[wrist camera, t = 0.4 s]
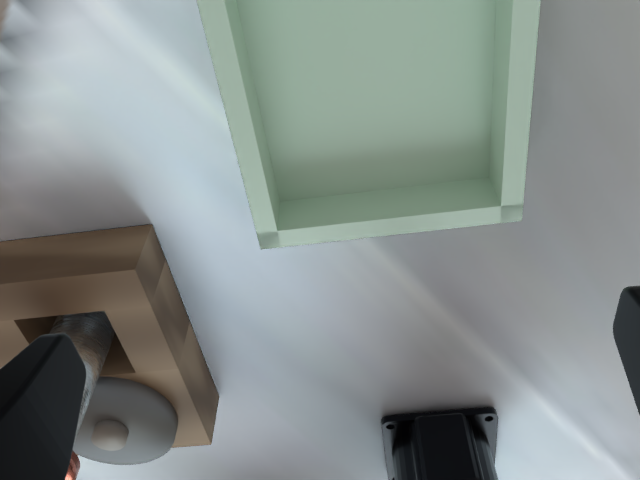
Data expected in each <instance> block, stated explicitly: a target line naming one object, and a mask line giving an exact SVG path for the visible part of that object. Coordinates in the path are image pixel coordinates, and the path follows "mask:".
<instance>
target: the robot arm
mask: <svg viewBox="0 0 640 480" xmlns="http://www.w3.org/2000/svg"><path fill="white" fill-rule="evenodd" d="M613 334H614V339H615V342H616V345H617V348H618V351H619V354H620V357H621V360H622V363H623V366H624V369H625V372H626V375H627V378H628V381H629V385H630V388H631V391H632V394H633V397H634V400H635V403H636V406H637V409H638V412H639V414H640V286H630V287H626V288H624V289H623V291H622V292H621V295H620V299H619V303H618V307H617V311H616V315H615V319H614V323H613ZM85 382H86V368H85V365H84V362H83V361H82V359H81V357H80V355H79V353H78V351H77V349H76V347H75V345H74V344H73V342H72V340H71V338H70V337H69V336H68V335H67V334H65V333H55V334H45V335H41V336H39V337H38V338H37V339H35V340H34V341H33V342H32V343H31V344H29V345H28V346H27V347H26V348H25V349H23V350H22V351H21V352H20V353H19V354H17V355H16V356H15V357H14V358H13V359H12V360H10V361H9V362H8V363H7V364H6V365H4V366H3V367H2V368H1V369H0V480H65V478H66V475H67V471H68V468H69V464H70V460H71V455H72V451H73V446H74V441H75V435H76V430H77V425H78V419H79V414H80V409H81V403H82V398H83V393H84V388H85ZM381 425H382V433H383V441H384V449H385V457H386V465H387V473H388V480H498V477H497V473H496V469H495V452H496V439H497V425H498V416H497V413H496V410H495V409H494V408H489V407H487V408H475V409H463V410H451V411H439V412H427V413H415V414H403V415H391V416H386V417H384V418H383V419H382V420H381Z"/></svg>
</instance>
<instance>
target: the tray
mask: <svg viewBox="0 0 640 480" xmlns="http://www.w3.org/2000/svg"><path fill="white" fill-rule="evenodd" d="M540 2H541V0H197V4H198V8H199V12H200V15H201V19H202V23H203V27H204V31H205V35H206V39H207V43H208V47H209V50H210V54H211V58H212V62H213V66H214V70H215V74H216V78H217V81H218V85H219V89H220V93H221V97H222V101H223V105H224V109H225V112H226V116H227V120H228V124H229V128H230V132H231V136H232V140H233V144H234V147H235V151H236V155H237V159H238V163H239V167H240V171H241V175H242V178H243V182H244V186H245V190H246V194H247V198H248V202H249V206H250V210H251V213H252V217H253V221H254V225H255V229H256V233H257V237H258V241H259V244H260V248H261V249H270V248H279V247H288V246H298V245H307V244H316V243H325V242H334V241H343V240H353V239H362V238H371V237H380V236H389V235H398V234H408V233H417V232H426V231H435V230H444V229H453V228H462V227H472V226H481V225H490V224H499V223H508V222H517V221H522V212H523V200H524V189H525V177H526V165H527V154H528V142H529V130H530V119H531V107H532V95H533V83H534V72H535V60H536V48H537V37H538V25H539V13H540Z"/></svg>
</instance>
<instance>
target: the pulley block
mask: <svg viewBox="0 0 640 480" xmlns="http://www.w3.org/2000/svg"><path fill="white" fill-rule="evenodd" d="M97 311H105V313H106V315H107V317H108V319H109V321H110V323H111V325H112V327H113V329H114V331H115V335H114V337H113V340H112V343H111V345H110V348H109V351H108V353H107V356H106V359H105V362H104V364H103V367H102V370H101V372H100V375H99V378H98V380H97V383H96V386H95V389H94V391H93V394H92V397H91V399H90V402H89V405H88V407H87V410H86V413H85V415H84V418H83V421H82V424H81V426H80V429H79V432H78V434H77V437H76V440H75V442H74V446H73V451H74V452H75V453H76V455H80V456H82V457H85V458H87V459H91V460H94V461H98V462H102V463H108V464H116V465H133V464H141V463H146V462H149V461H152V460H155V459H157V458H159V457H161V456H163V455H164V454H165V453H167V452H168V451H169V450H170V449H171V448H174V447H186V446H199V445H211V443H212V437H213V431H214V425H215V419H216V413H217V406H218V400H219V395H218V392H217V390H216V387H215V385H214V382H213V380H212V377H211V374H210V372H209V369H208V367H207V364H206V362H205V359H204V356H203V354H202V351H201V349H200V346H199V344H198V341H197V338H196V336H195V333H194V331H193V328H192V326H191V323H190V320H189V318H188V315H187V313H186V310H185V308H184V305H183V302H182V300H181V297H180V295H179V292H178V290H177V287H176V284H175V282H174V279H173V277H172V274H171V272H170V269H169V266H168V264H167V261H166V259H165V256H164V254H163V251H162V248H161V246H160V243H159V241H158V238H157V236H156V233H155V230H154V228H153V225H152V224H150V225H141V226H132V227H124V228H115V229H106V230H98V231H89V232H80V233H71V234H63V235H54V236H45V237H37V238H28V239H19V240H10V241H2V242H0V369H1V368H2V367H3V366H4V365H6V364H7V363H8V362H9V361H10V360H12V359H13V358H14V357H15V356H16V355H17V354H19V353H20V352H21V351H22V350H23V349H25V348H26V347H27V346H28V345H29V344H31V343H32V342H33V341H34V340H35V339H37V338H38V337H39V336H41V335H45V334H49V333H50V331H51V329H52V327H53V325H54V323H55V320H56V318H57V316H58V315H67V314H77V313H87V312H97Z"/></svg>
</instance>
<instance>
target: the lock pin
mask: <svg viewBox="0 0 640 480" xmlns="http://www.w3.org/2000/svg"><path fill="white" fill-rule="evenodd" d="M55 333H65V334H67V335H68V336H69V337H70V338H71V340H72V342H73V344H74V345H75V347H76V349H77V351H78V353H79V355H80V357H81V359H82V361H83V362H84V365H85V368H86V382H85V388H84V393H83V398H82V403H81V409H80V414H79V419H78V425H77V430H76V435H75V440H76V437H77V434H78V432H79V429H80V426H81V424H82V421H83V418H84V415H85V413H86V410H87V407H88V405H89V402H90V399H91V397H92V394H93V391H94V389H95V386H96V383H97V380H98V378H99V375H100V372H101V370H102V367H103V364H104V362H105V359H106V356H107V353H108V351H109V348H110V345H111V343H112V340H113V337H114V335H115V331H114V329H113V327H112V325H111V323H110V321H109V319H108V317H107V315H106V313H105V311H97V312H87V313H77V314H67V315H58V316H57V318H56V320H55V323H54V325H53V327H52V329H51V331H50V333H49V334H55ZM74 442H75V441H74ZM79 469H80V461H79V458H78V457H77V455H76V453H75V452H74V451H72V455H71V460H70V464H69V468H68V471H67V475H66V478H65V480H76V477H77V474H78V472H79Z"/></svg>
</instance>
